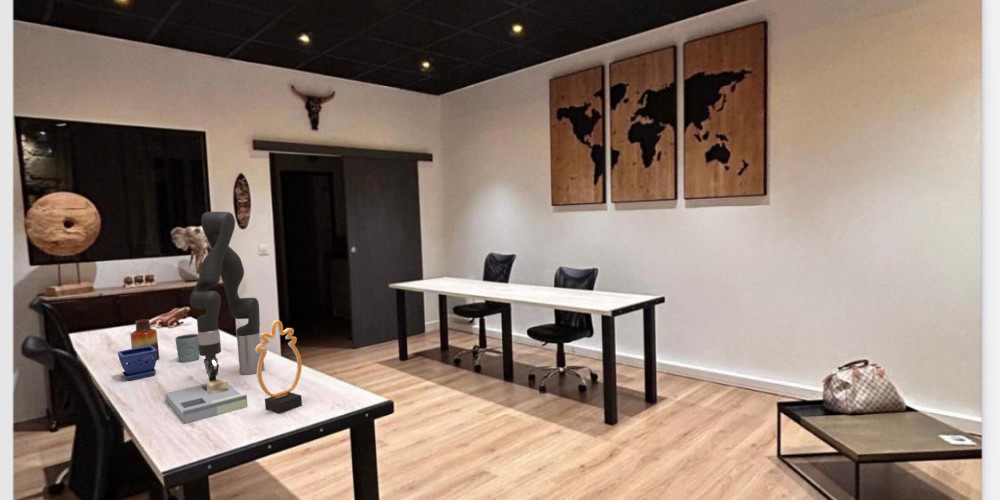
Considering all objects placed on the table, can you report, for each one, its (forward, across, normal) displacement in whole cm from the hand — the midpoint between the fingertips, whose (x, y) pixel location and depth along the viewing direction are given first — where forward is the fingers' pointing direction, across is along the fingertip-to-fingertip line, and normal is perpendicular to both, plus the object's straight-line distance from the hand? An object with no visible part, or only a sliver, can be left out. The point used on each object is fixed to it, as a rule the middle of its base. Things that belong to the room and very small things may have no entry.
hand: (213, 385), depth 203 cm
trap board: (+4, -8, +5) cm, 10 cm away
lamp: (+4, -35, -14) cm, 38 cm away
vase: (+4, +83, +11) cm, 84 cm away
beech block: (+1, -6, 0) cm, 6 cm away
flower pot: (+4, +55, +17) cm, 57 cm away
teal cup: (+4, +66, -5) cm, 67 cm away
